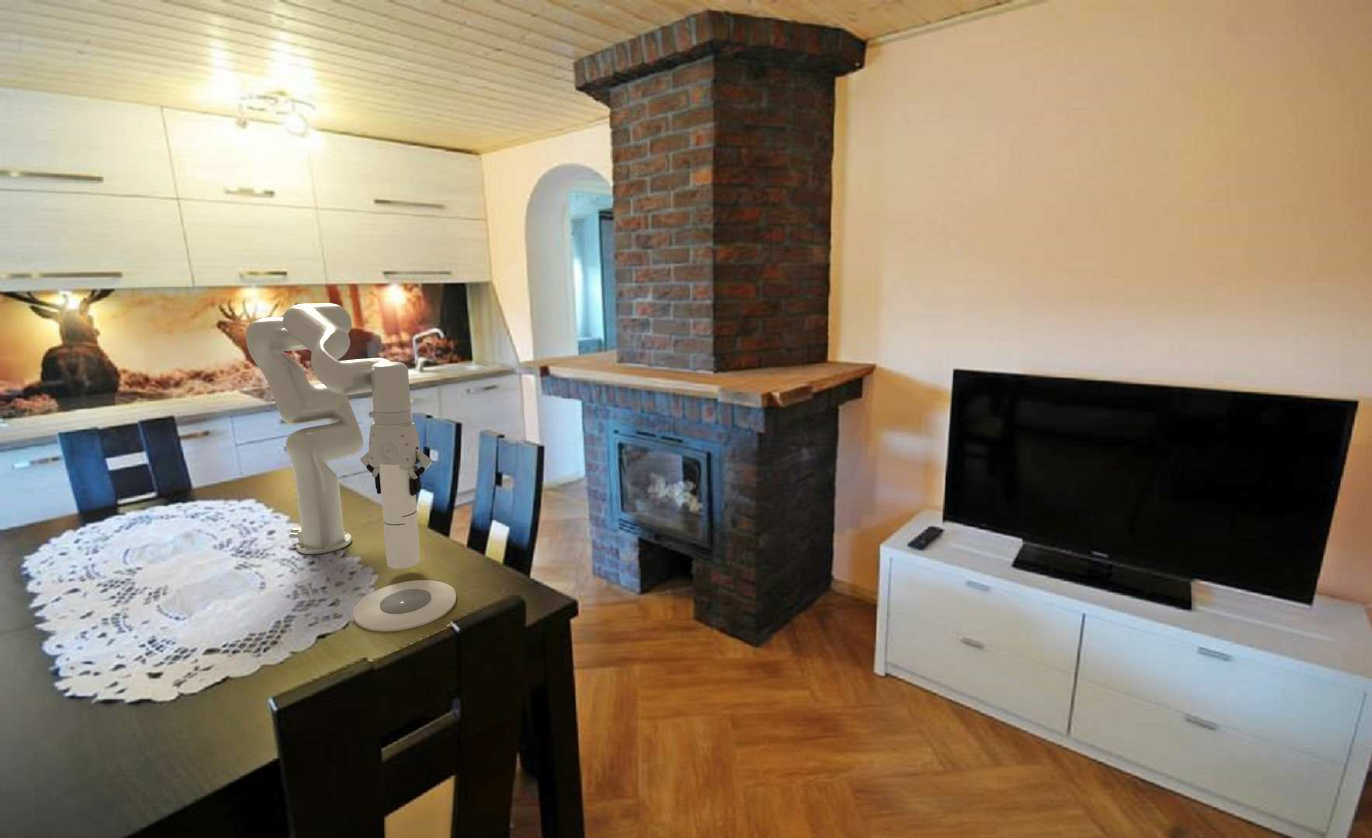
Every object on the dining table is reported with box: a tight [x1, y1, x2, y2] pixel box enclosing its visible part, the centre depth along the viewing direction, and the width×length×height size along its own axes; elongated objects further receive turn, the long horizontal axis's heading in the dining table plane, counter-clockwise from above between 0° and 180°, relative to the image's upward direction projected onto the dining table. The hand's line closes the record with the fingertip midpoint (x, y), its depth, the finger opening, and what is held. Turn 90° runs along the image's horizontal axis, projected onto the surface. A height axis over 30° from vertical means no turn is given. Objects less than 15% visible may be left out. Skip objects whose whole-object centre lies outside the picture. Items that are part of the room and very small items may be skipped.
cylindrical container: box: [379, 464, 421, 570], centre depth 143 cm, size 7×7×25 cm
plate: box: [352, 579, 457, 633], centre depth 132 cm, size 20×20×1 cm
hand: (398, 492), depth 142 cm, fingers closed on cylindrical container, 7 cm apart
